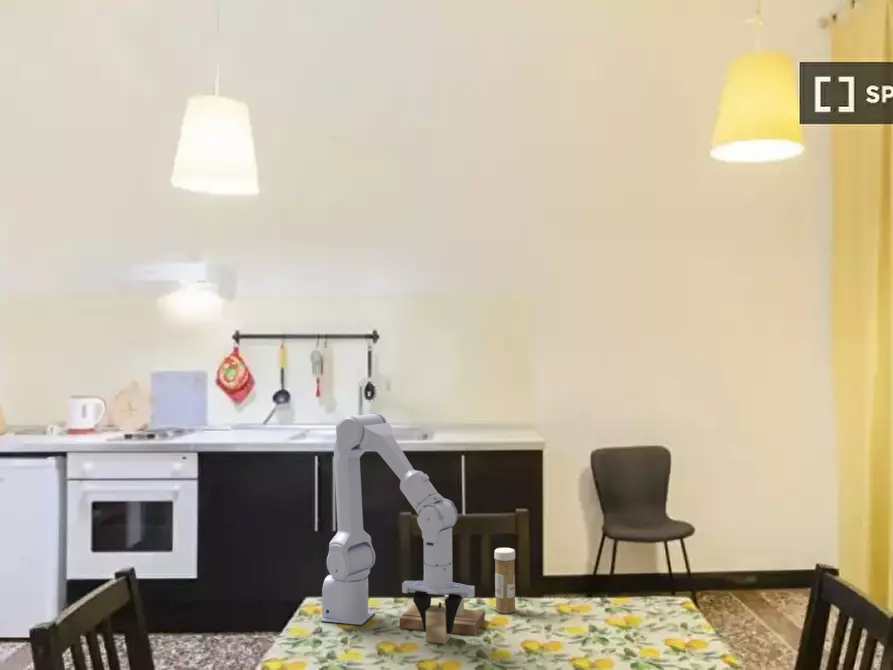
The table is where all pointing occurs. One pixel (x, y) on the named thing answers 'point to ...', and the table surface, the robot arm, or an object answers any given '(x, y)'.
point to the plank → (461, 625)
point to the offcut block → (461, 606)
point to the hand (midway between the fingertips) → (438, 631)
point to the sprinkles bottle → (504, 580)
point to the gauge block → (436, 624)
